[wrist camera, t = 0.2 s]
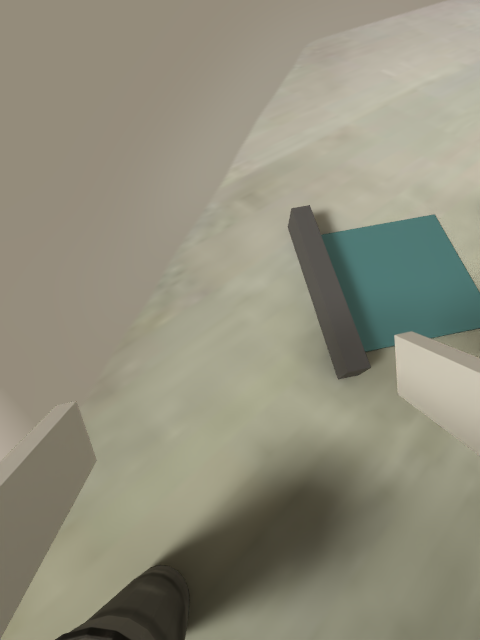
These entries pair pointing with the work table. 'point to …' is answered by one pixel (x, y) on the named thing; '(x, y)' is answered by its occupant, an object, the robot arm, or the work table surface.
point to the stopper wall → (327, 295)
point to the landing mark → (403, 281)
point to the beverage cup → (141, 610)
